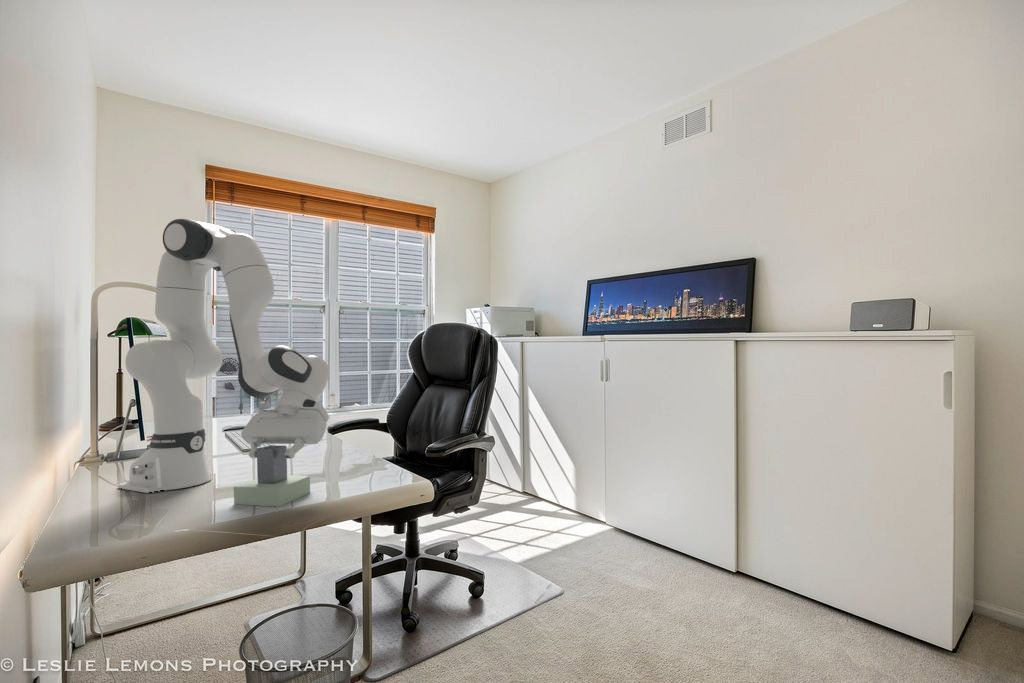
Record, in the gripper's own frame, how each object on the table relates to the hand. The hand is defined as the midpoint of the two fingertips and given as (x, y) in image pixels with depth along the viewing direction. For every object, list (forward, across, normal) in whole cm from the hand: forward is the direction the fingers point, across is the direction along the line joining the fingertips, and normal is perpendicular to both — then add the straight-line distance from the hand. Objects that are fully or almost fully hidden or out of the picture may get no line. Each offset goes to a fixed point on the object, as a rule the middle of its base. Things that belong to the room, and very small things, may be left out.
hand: (270, 457), depth 119 cm
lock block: (+4, 0, +5) cm, 6 cm away
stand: (+6, 0, +7) cm, 10 cm away
